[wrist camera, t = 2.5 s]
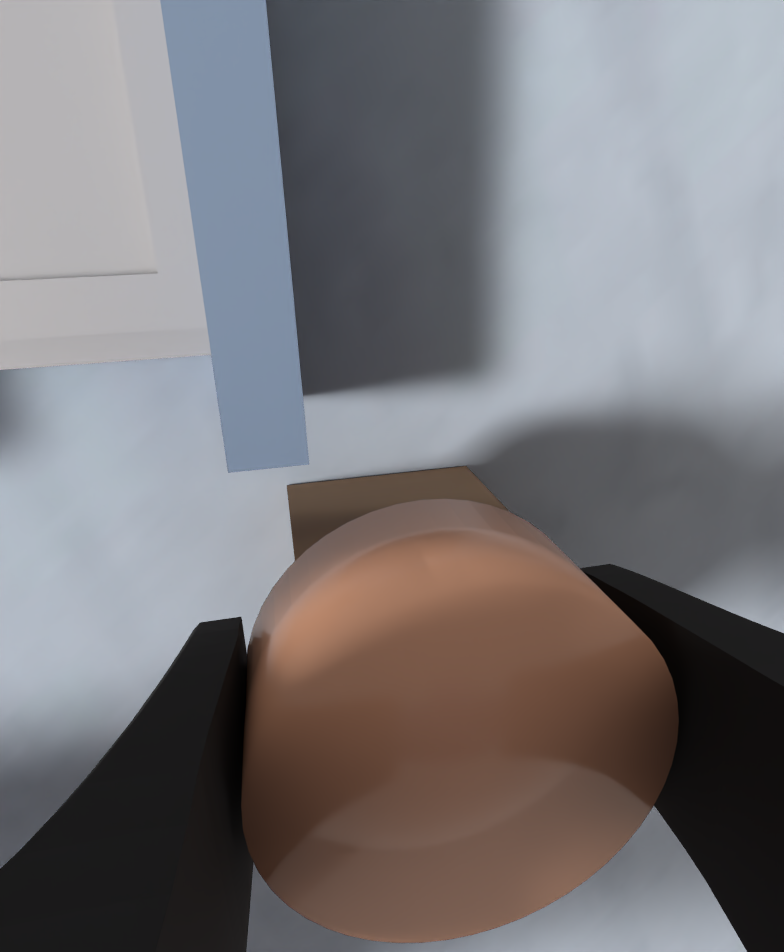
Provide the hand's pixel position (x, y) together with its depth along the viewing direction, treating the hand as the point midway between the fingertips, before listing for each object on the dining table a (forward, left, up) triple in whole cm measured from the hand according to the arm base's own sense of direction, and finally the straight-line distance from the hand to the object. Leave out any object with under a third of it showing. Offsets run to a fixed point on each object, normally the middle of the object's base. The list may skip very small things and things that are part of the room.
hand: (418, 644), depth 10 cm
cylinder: (0, 0, 0) cm, 0 cm away
